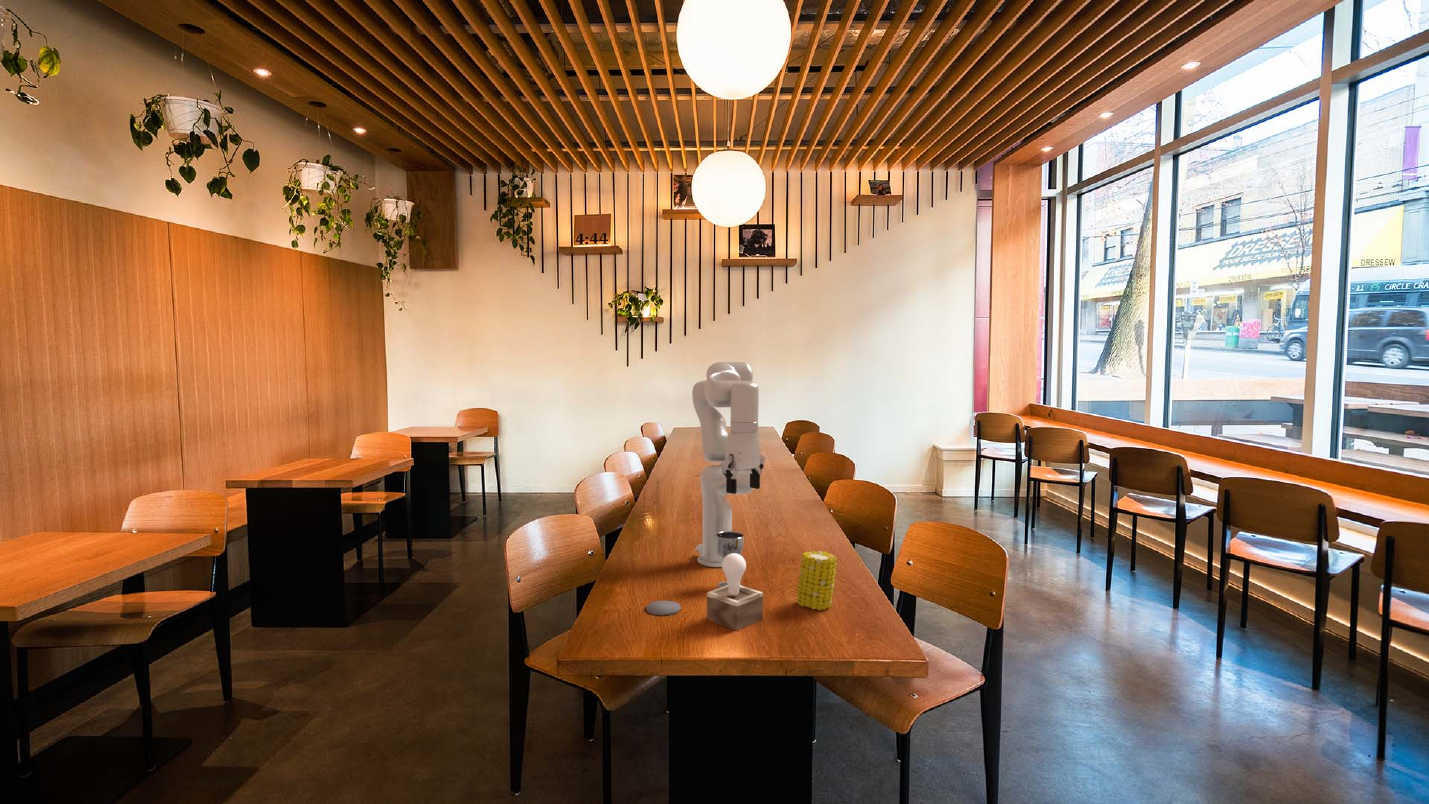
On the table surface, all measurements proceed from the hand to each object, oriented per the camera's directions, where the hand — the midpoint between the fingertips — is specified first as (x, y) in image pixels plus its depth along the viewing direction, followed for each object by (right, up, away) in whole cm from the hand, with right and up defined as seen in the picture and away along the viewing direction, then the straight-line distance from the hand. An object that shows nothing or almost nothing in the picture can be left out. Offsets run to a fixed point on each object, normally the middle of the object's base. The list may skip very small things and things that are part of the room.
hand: (743, 490), depth 181 cm
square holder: (-3, -31, -12) cm, 33 cm away
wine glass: (-3, -30, +13) cm, 33 cm away
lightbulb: (-3, -25, -13) cm, 28 cm away
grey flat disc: (-21, -30, -6) cm, 38 cm away
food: (+20, -31, -2) cm, 37 cm away
